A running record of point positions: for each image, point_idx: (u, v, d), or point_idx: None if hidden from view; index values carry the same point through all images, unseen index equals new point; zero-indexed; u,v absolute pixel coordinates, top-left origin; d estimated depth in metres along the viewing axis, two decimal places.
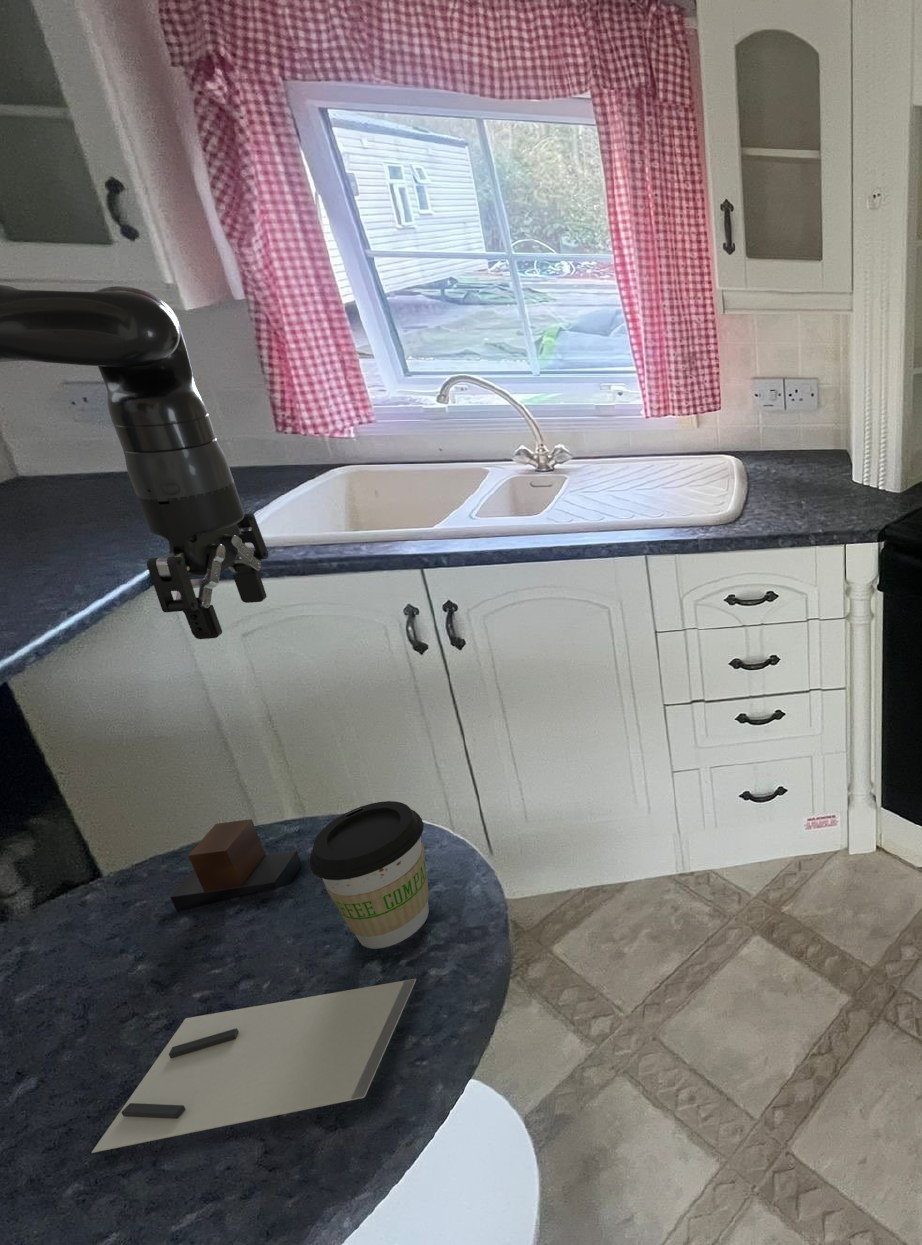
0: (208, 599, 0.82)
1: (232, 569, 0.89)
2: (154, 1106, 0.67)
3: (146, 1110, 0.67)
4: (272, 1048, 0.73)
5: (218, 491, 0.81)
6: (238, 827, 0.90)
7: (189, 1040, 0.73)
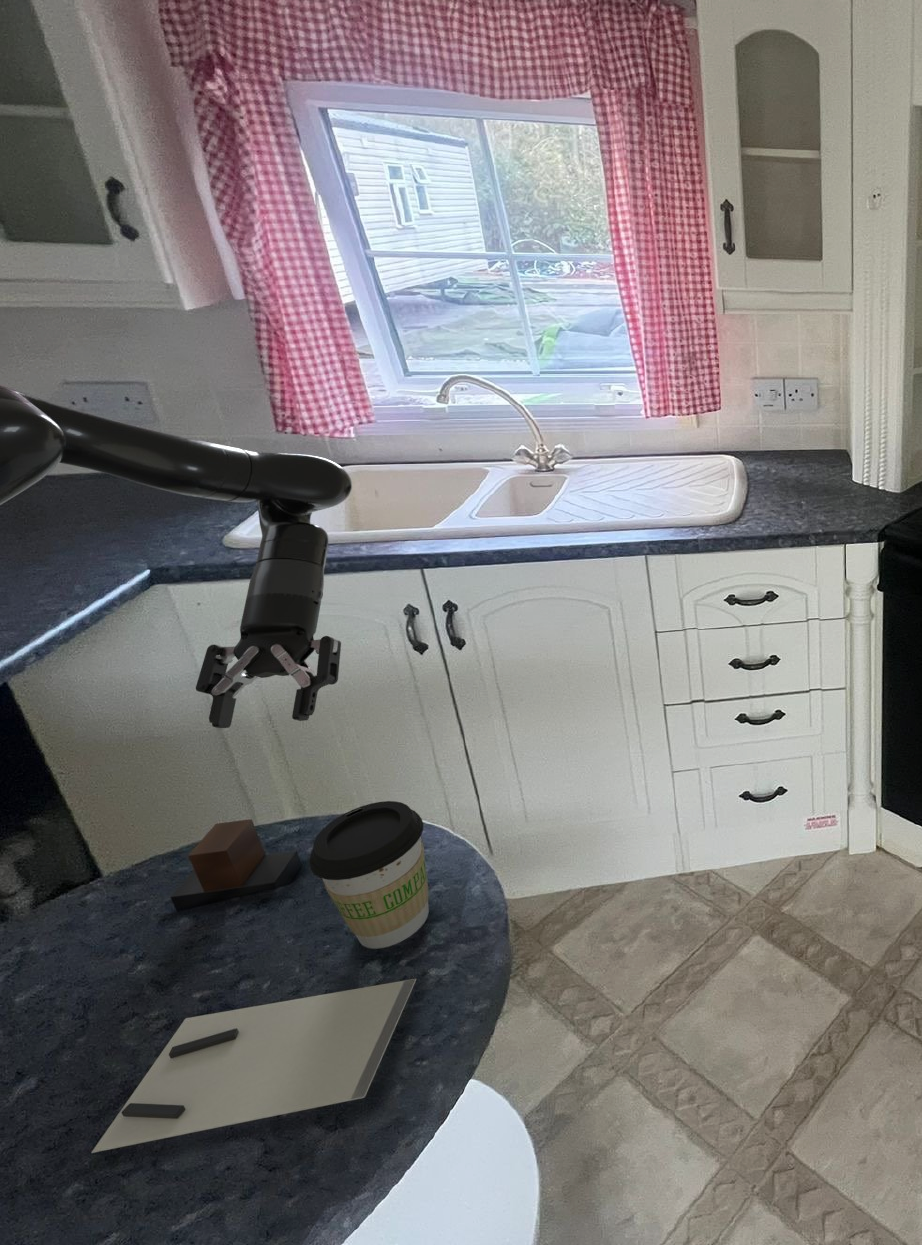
0: None
1: (225, 690, 0.96)
2: (154, 1106, 0.67)
3: (146, 1110, 0.67)
4: (272, 1048, 0.73)
5: None
6: (238, 827, 0.90)
7: (189, 1040, 0.73)
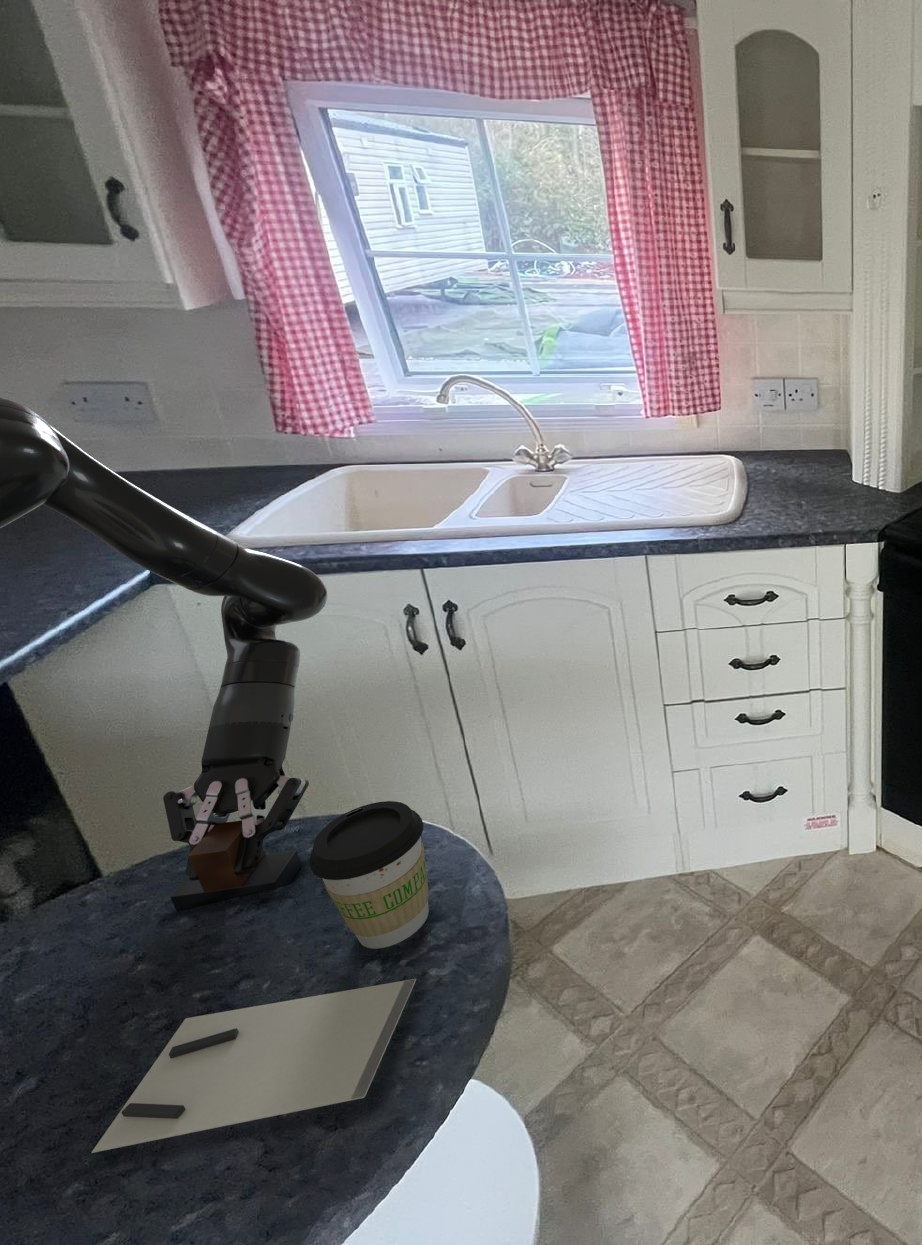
0: None
1: (204, 835, 0.88)
2: (154, 1106, 0.67)
3: (146, 1110, 0.67)
4: (272, 1048, 0.73)
5: None
6: (238, 827, 0.90)
7: (189, 1040, 0.73)
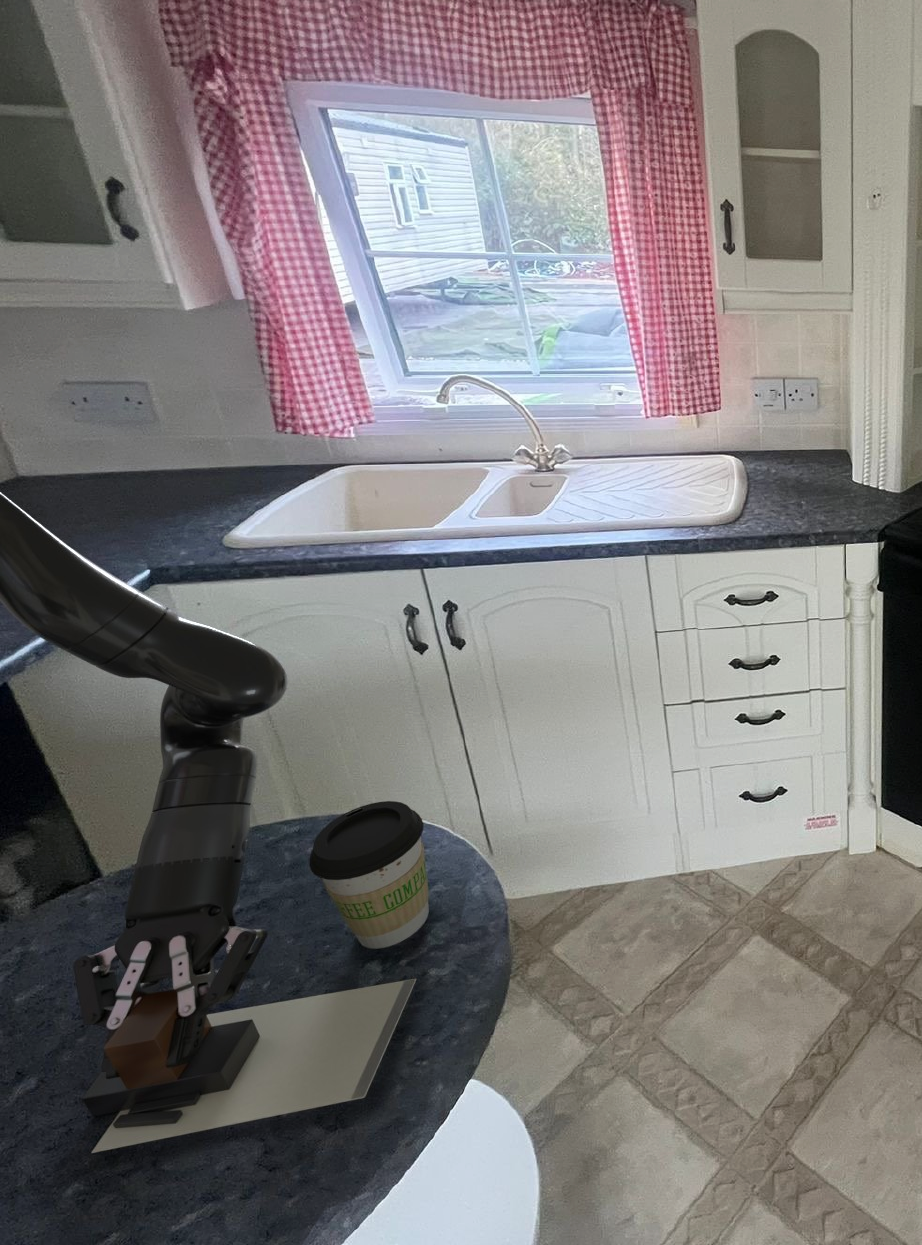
0: None
1: (127, 1015, 0.67)
2: (148, 1114, 0.67)
3: (141, 1119, 0.66)
4: (272, 1048, 0.73)
5: None
6: (173, 1000, 0.69)
7: None
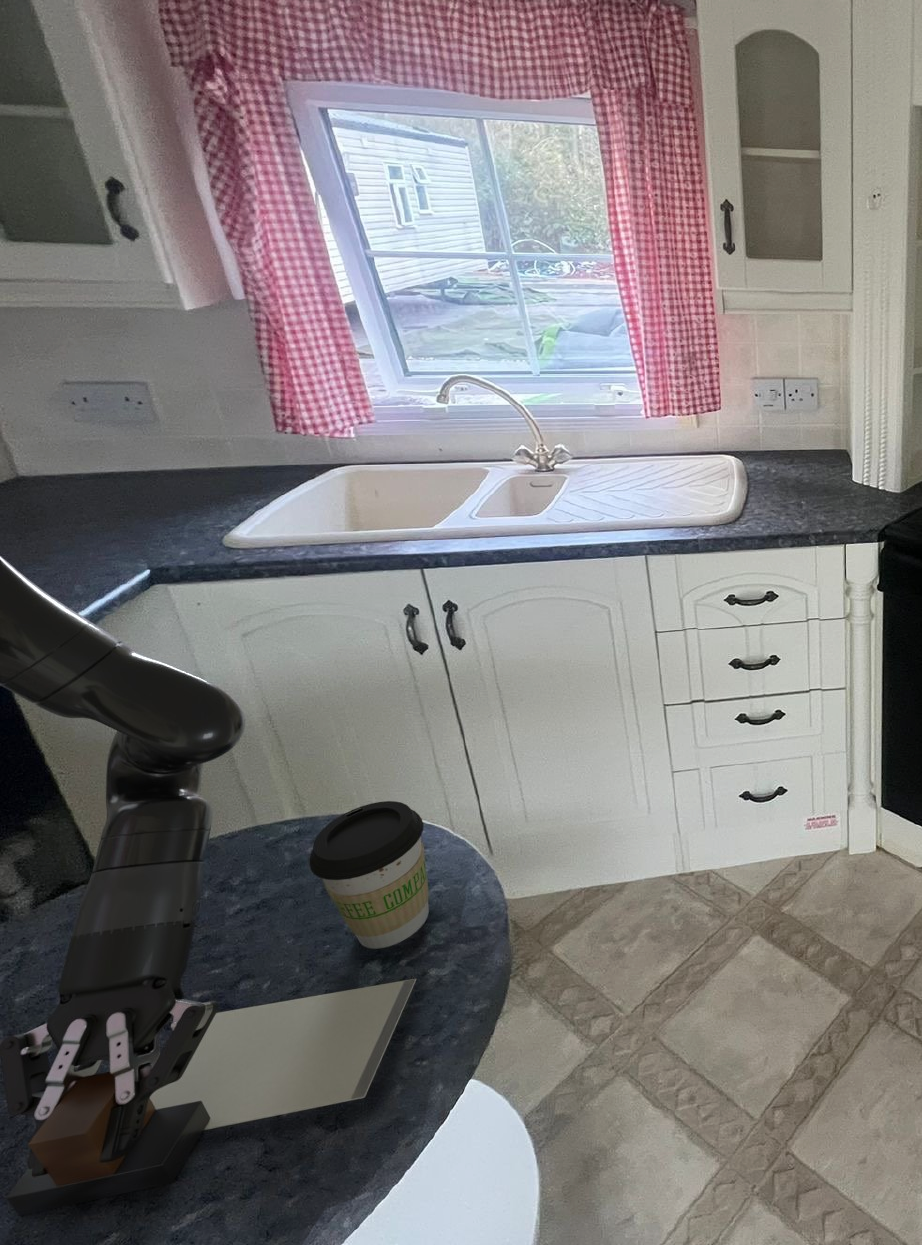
0: None
1: (58, 1103, 0.61)
2: None
3: None
4: (272, 1048, 0.73)
5: None
6: (110, 1084, 0.62)
7: None
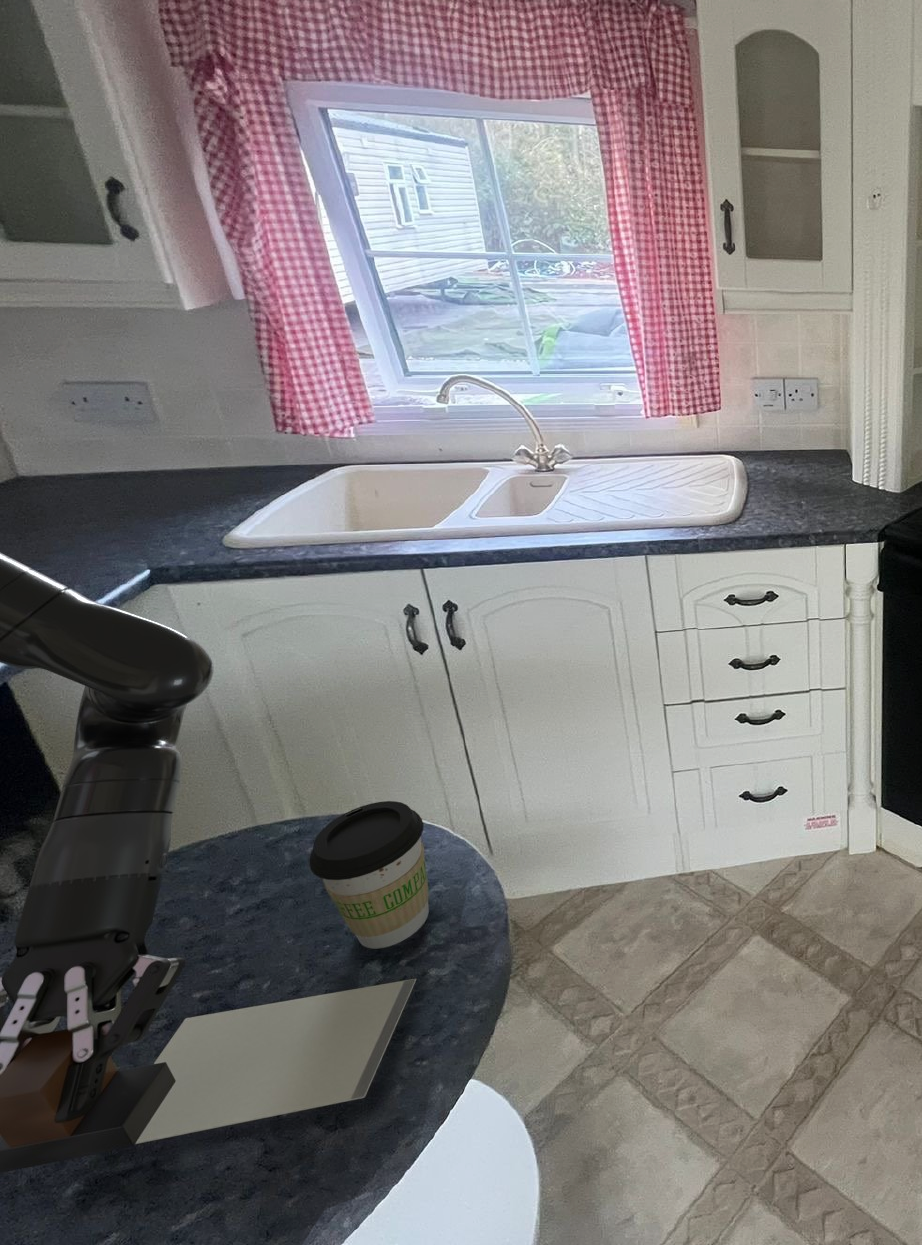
0: None
1: (12, 1060, 0.58)
2: None
3: None
4: (272, 1048, 0.73)
5: None
6: (68, 1042, 0.59)
7: (189, 1040, 0.73)
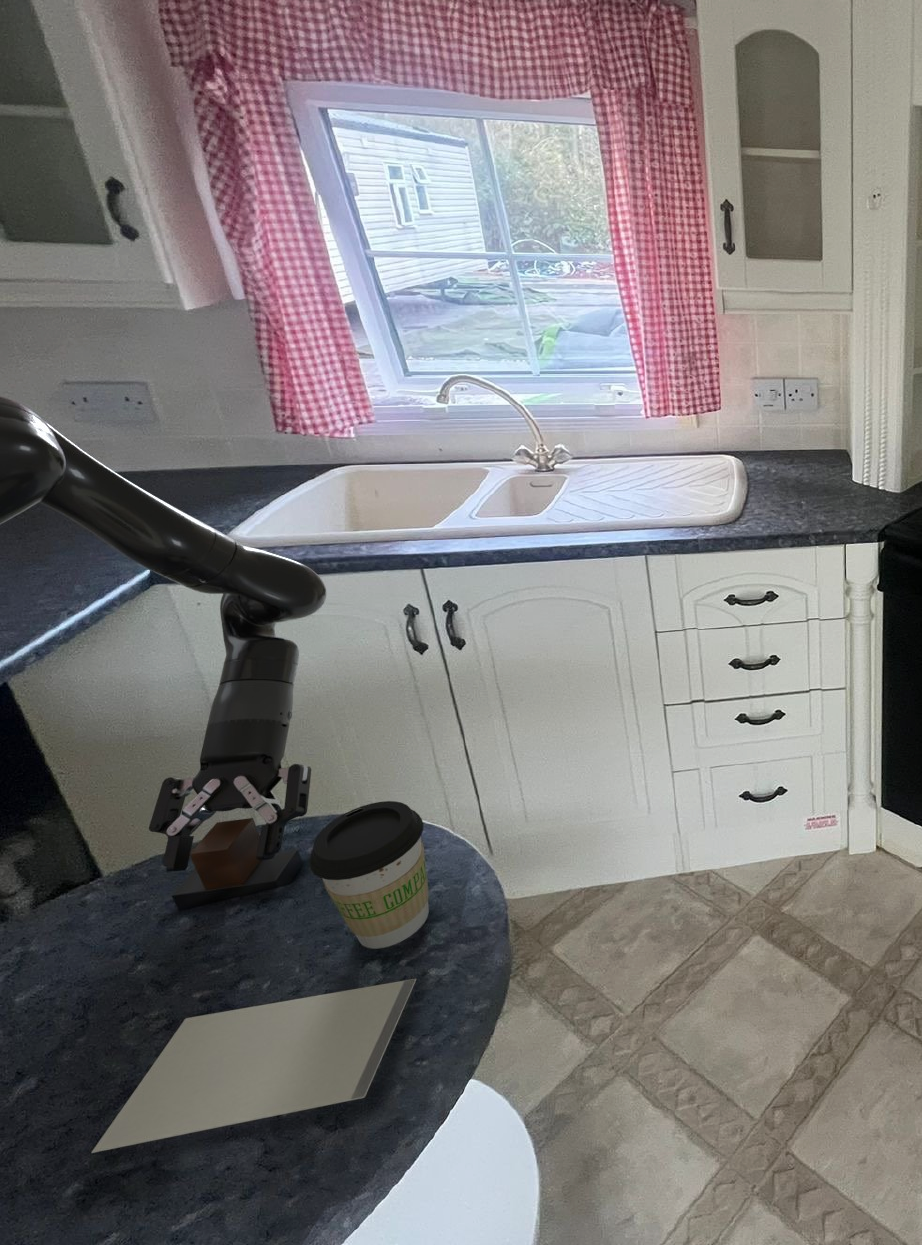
0: None
1: (182, 829, 0.88)
2: None
3: None
4: (272, 1048, 0.73)
5: None
6: (239, 826, 0.90)
7: (189, 1040, 0.73)
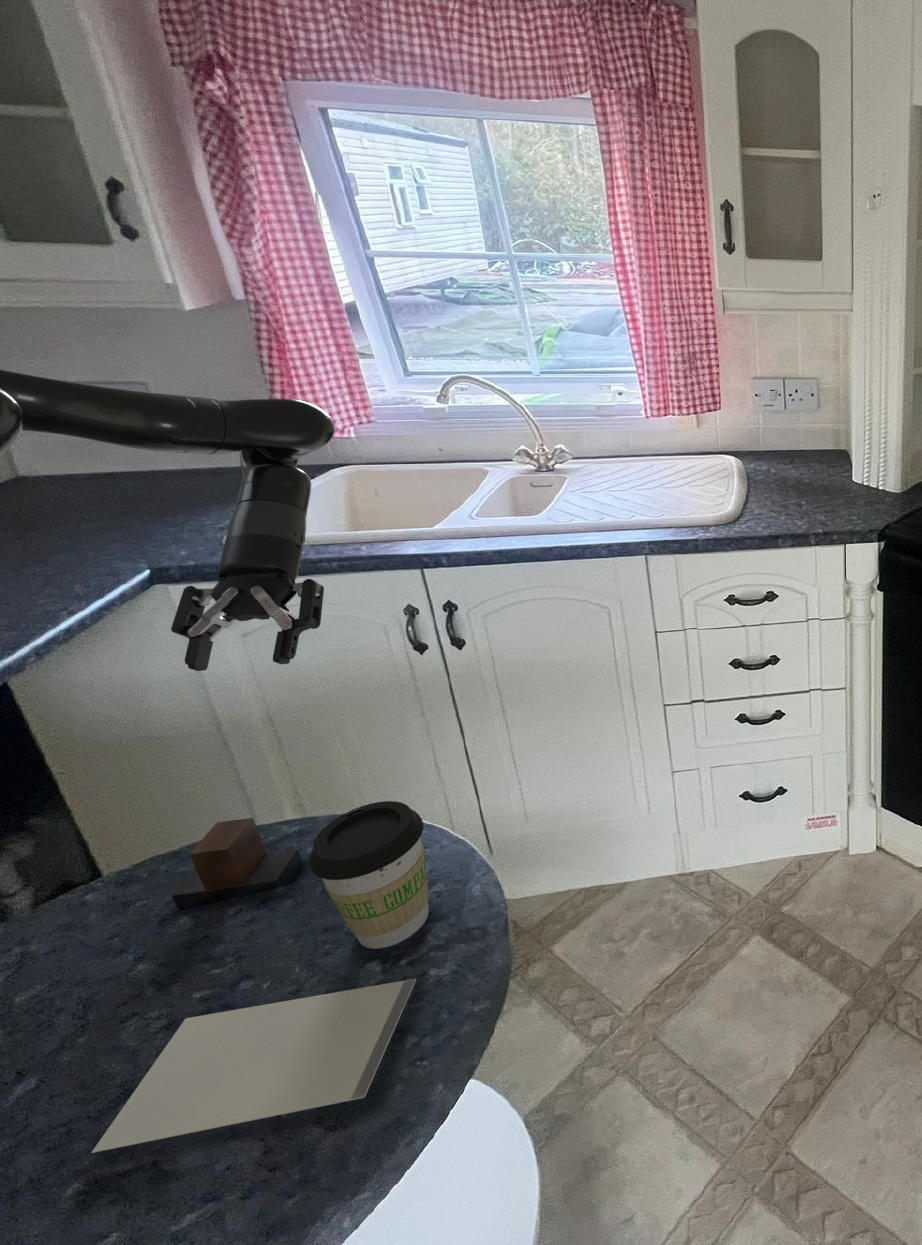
0: None
1: (202, 631, 0.93)
2: None
3: None
4: (272, 1048, 0.73)
5: None
6: (239, 826, 0.90)
7: (189, 1040, 0.73)
